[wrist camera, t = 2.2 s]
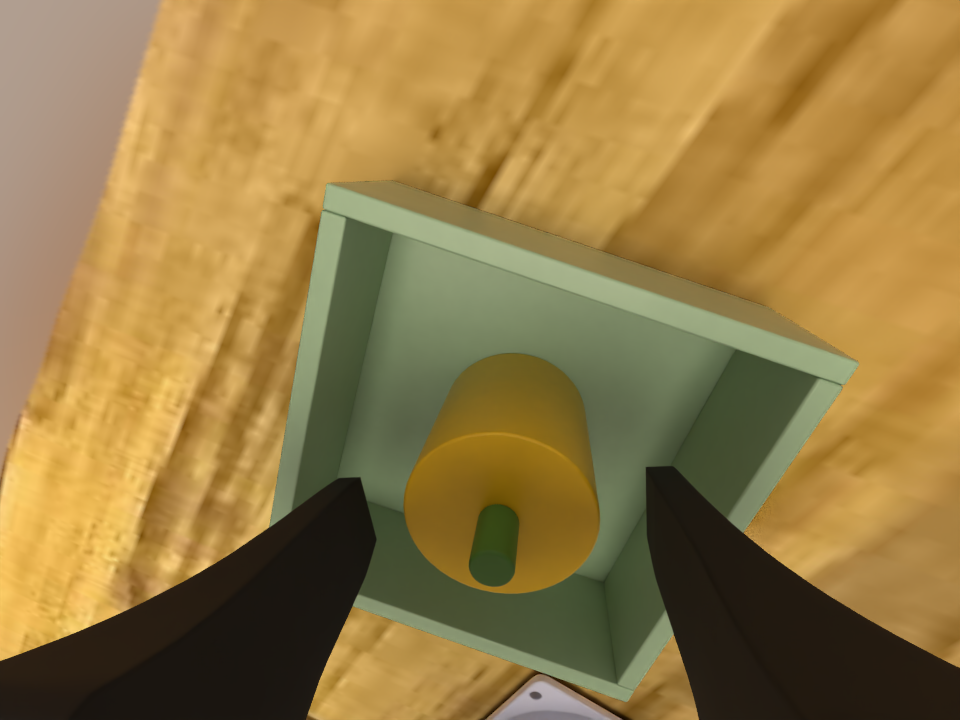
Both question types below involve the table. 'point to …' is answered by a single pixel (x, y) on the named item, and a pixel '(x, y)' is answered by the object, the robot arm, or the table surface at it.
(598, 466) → the basket
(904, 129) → the table surface
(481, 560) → the pepper
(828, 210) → the table surface
